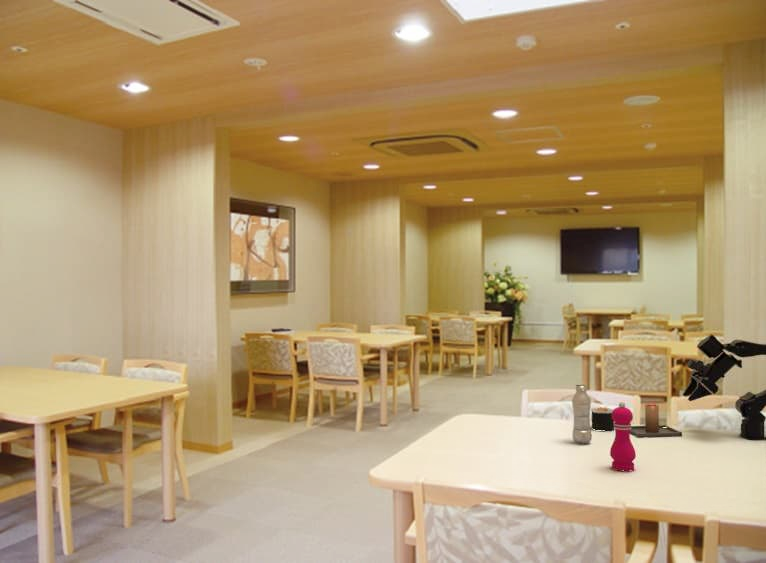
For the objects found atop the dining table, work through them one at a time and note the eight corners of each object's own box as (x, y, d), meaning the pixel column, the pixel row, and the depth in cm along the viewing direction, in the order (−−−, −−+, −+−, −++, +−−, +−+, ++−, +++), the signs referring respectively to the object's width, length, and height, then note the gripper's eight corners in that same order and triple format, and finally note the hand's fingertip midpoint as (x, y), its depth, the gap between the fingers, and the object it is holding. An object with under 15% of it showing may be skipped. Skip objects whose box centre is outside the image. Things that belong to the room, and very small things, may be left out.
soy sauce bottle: (658, 430, 241) (658, 403, 241) (659, 433, 237) (659, 405, 237) (645, 429, 243) (644, 402, 243) (645, 432, 238) (645, 404, 238)
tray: (665, 428, 246) (665, 424, 246) (681, 436, 234) (681, 432, 234) (623, 430, 245) (623, 426, 245) (638, 437, 233) (638, 433, 233)
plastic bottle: (571, 444, 226) (570, 386, 226) (573, 440, 232) (572, 383, 232) (591, 446, 223) (590, 387, 223) (592, 441, 229) (591, 384, 229)
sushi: (612, 427, 251) (612, 406, 251) (615, 432, 242) (614, 410, 242) (590, 426, 252) (590, 405, 252) (592, 431, 244) (592, 409, 244)
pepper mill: (637, 472, 192) (636, 404, 192) (612, 471, 194) (610, 404, 194) (633, 465, 200) (632, 400, 199) (608, 464, 201) (607, 399, 201)
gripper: (695, 348, 243) (664, 377, 246) (707, 354, 225) (673, 386, 228) (719, 370, 241) (687, 399, 244) (733, 377, 223) (698, 409, 226)
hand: (686, 397), depth 236 cm, fingers open, 9 cm apart
